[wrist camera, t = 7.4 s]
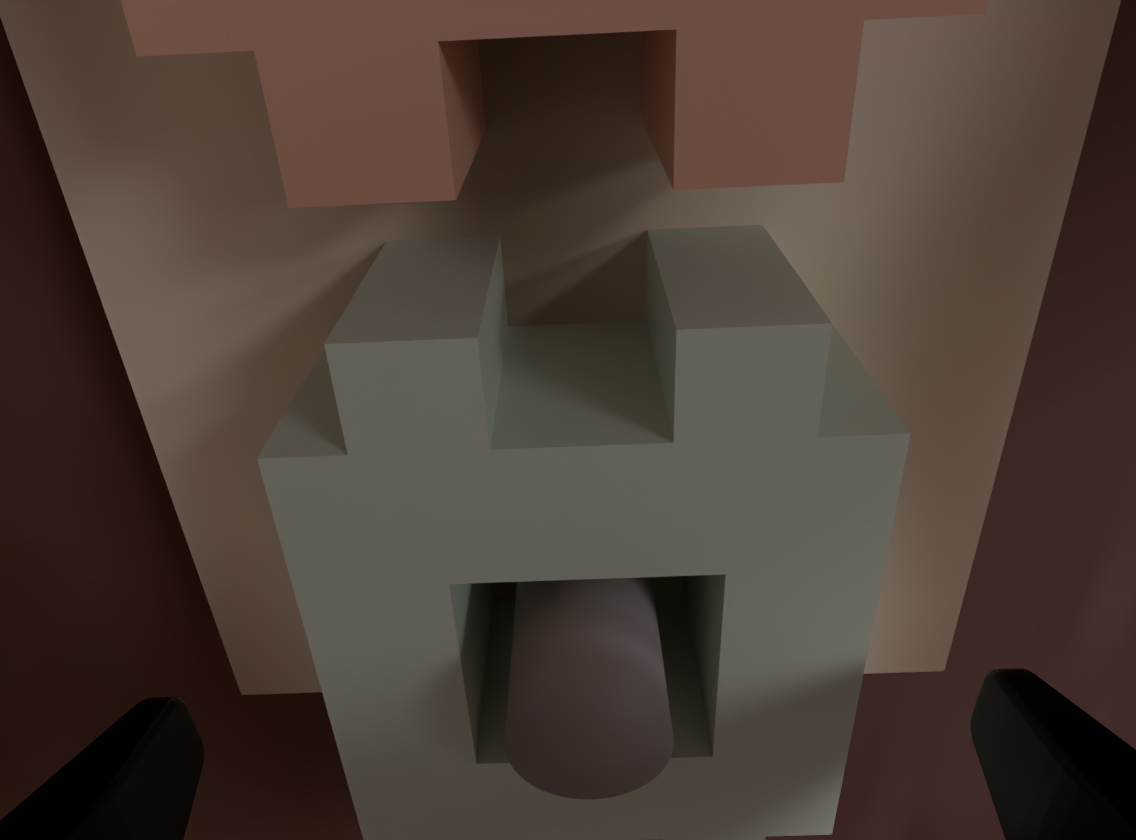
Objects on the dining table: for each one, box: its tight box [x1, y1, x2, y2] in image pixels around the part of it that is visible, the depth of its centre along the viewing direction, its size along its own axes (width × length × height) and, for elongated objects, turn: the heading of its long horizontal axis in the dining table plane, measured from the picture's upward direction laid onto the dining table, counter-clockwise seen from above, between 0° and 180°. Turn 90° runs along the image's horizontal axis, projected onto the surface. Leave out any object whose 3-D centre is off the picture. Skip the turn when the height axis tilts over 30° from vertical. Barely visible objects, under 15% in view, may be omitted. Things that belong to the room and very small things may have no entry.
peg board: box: [0, 0, 1121, 799], centre depth 9 cm, size 12×17×6 cm
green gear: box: [257, 225, 911, 840], centre depth 11 cm, size 6×9×3 cm
